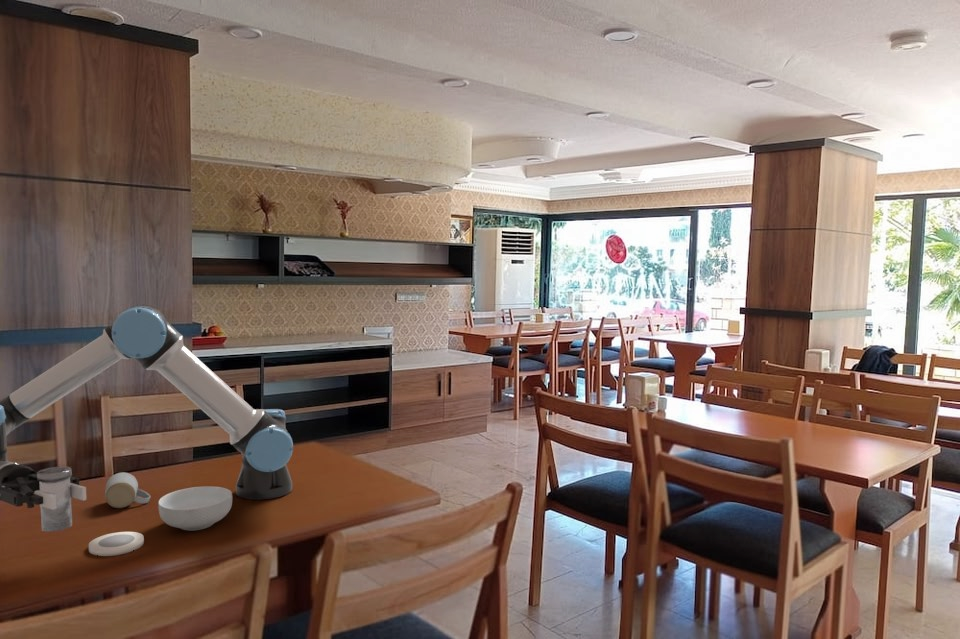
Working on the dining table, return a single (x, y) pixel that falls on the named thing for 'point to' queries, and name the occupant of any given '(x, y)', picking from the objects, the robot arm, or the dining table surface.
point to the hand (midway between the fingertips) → (69, 498)
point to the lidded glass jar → (59, 485)
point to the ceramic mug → (124, 491)
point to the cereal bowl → (195, 507)
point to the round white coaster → (116, 543)
